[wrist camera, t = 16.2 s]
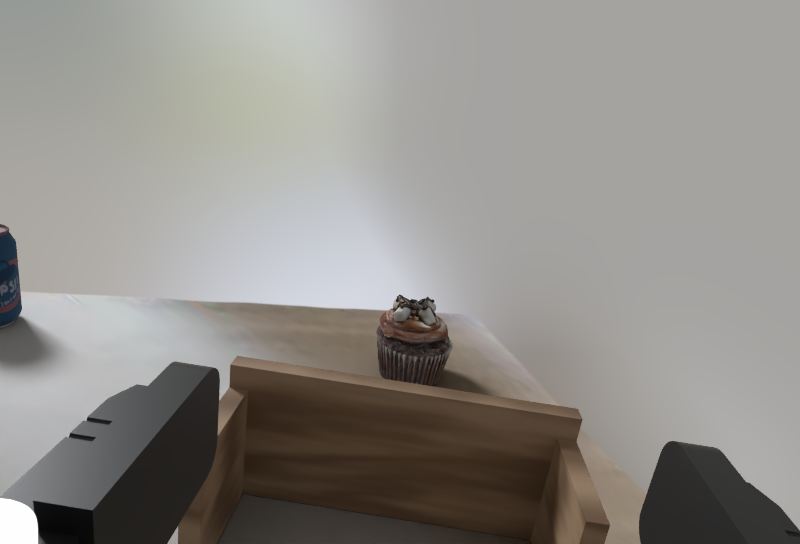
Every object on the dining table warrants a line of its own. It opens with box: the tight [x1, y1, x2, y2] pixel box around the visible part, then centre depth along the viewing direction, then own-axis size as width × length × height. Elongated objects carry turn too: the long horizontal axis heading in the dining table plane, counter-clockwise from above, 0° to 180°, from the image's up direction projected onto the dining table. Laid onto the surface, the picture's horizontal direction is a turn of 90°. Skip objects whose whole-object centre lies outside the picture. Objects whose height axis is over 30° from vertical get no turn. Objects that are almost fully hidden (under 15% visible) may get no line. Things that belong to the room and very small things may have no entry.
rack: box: [178, 356, 610, 544], centre depth 37 cm, size 17×28×12 cm, turn 86°
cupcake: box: [376, 295, 453, 386], centre depth 69 cm, size 10×10×10 cm
